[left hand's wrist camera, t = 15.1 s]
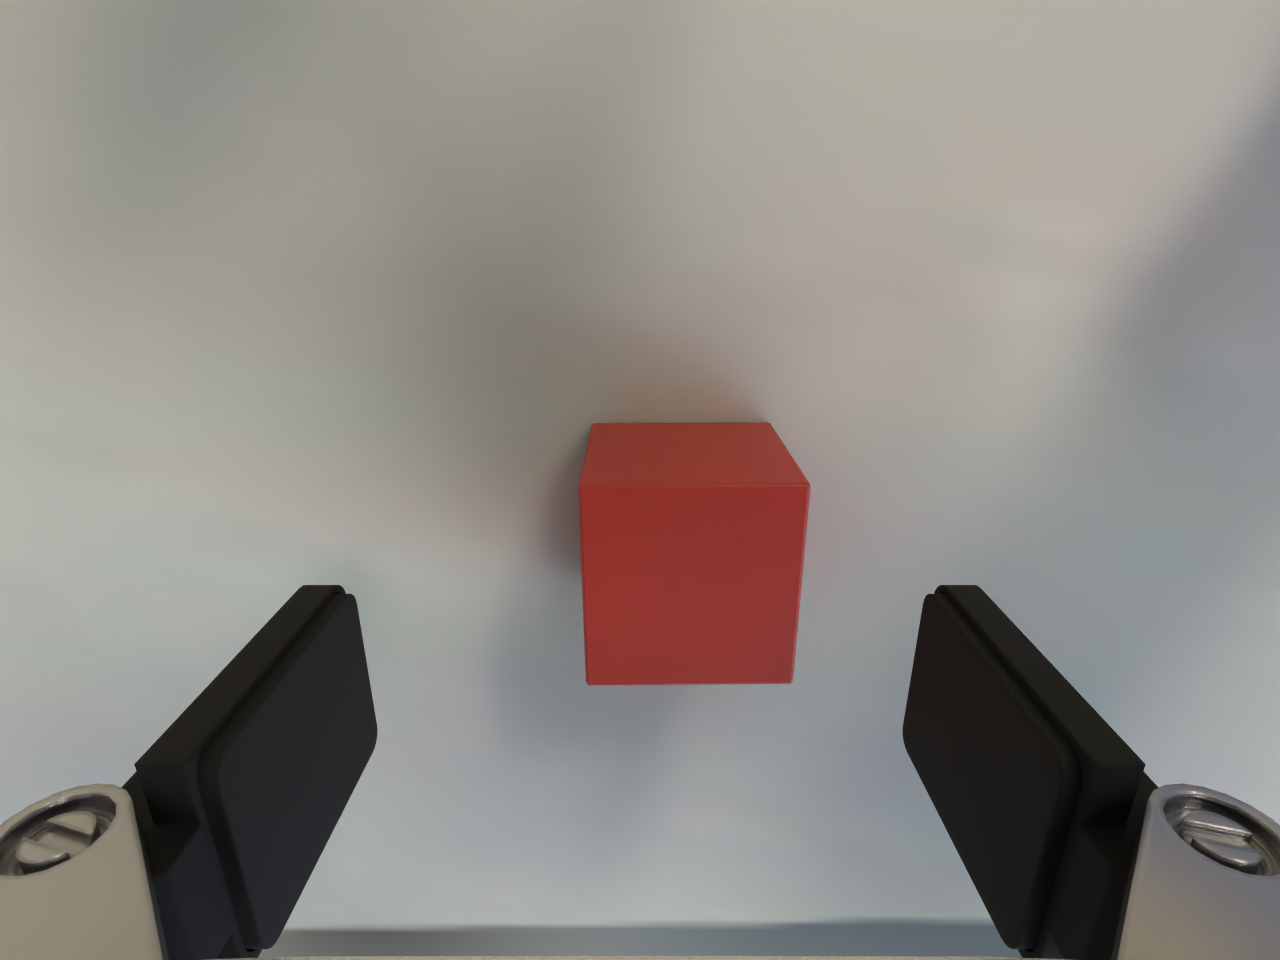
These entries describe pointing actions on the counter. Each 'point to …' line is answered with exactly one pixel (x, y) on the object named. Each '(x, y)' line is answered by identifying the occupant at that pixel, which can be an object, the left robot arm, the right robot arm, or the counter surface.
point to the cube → (690, 554)
